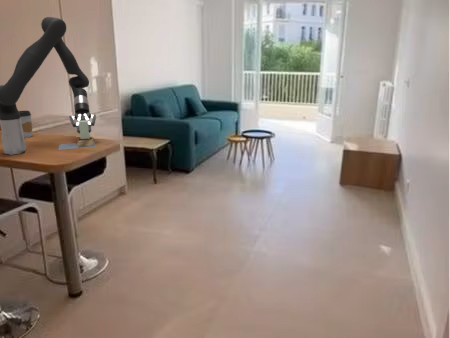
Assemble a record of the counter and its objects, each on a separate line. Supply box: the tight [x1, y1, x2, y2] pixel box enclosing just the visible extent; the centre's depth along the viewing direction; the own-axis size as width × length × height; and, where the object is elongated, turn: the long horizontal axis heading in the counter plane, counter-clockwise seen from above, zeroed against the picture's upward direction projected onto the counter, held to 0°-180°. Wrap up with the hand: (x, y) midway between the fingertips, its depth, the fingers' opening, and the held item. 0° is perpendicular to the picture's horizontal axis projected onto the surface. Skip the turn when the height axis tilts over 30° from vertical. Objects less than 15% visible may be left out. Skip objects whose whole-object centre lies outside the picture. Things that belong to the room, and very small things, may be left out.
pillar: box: [79, 120, 91, 139], centre depth 196 cm, size 4×4×9 cm
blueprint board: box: [58, 140, 96, 151], centre depth 198 cm, size 18×12×1 cm, turn 110°
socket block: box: [77, 136, 94, 147], centre depth 199 cm, size 8×8×3 cm
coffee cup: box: [18, 110, 34, 139], centre depth 219 cm, size 8×8×15 cm
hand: (84, 132), depth 195 cm, fingers closed on pillar, 4 cm apart
